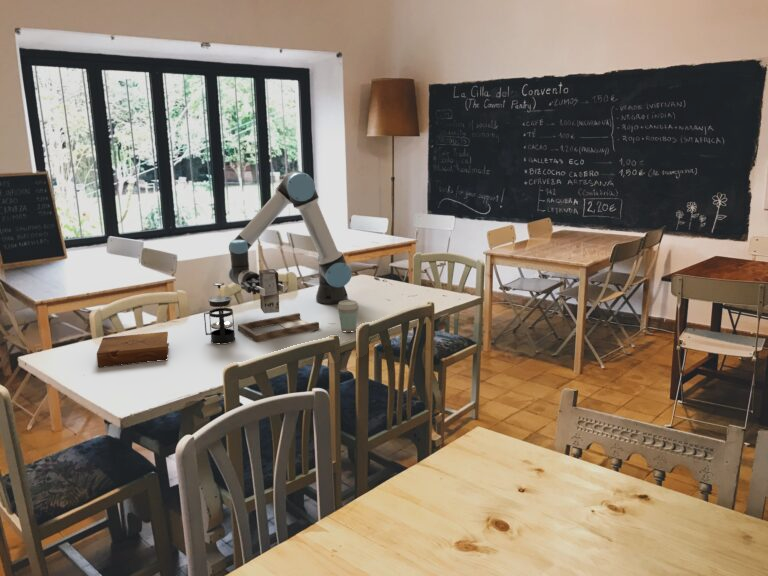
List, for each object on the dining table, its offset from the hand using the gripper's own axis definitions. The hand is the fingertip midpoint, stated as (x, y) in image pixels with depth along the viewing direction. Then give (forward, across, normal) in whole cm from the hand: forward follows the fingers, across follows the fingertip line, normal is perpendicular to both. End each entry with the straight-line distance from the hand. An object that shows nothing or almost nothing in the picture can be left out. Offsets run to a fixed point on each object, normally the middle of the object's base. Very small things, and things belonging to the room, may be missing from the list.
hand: (274, 290), depth 251 cm
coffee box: (-5, 0, -9) cm, 11 cm away
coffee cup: (+14, -25, -18) cm, 34 cm away
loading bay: (-5, -3, -18) cm, 19 cm away
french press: (-6, +21, -18) cm, 28 cm away
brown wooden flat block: (-9, +53, -18) cm, 57 cm away
